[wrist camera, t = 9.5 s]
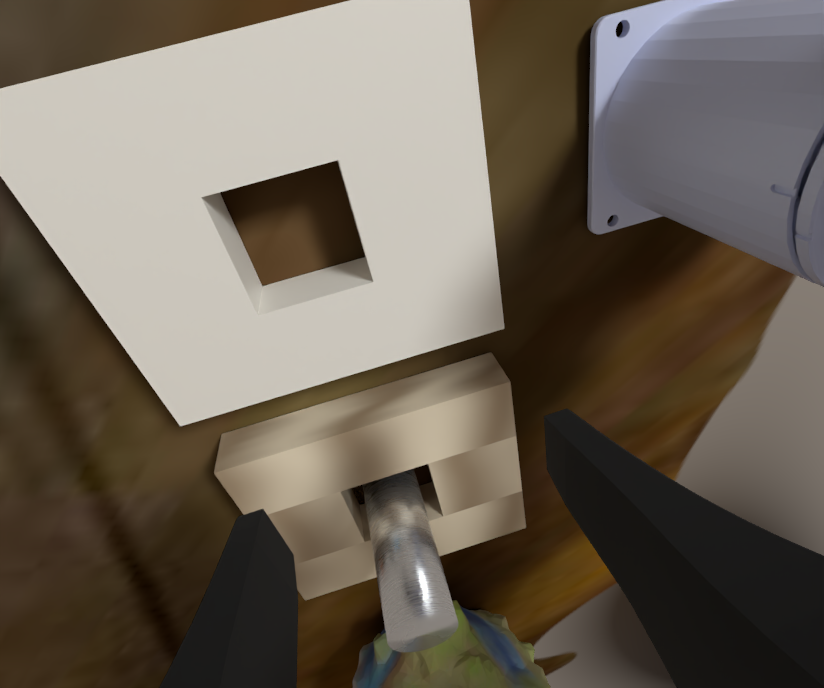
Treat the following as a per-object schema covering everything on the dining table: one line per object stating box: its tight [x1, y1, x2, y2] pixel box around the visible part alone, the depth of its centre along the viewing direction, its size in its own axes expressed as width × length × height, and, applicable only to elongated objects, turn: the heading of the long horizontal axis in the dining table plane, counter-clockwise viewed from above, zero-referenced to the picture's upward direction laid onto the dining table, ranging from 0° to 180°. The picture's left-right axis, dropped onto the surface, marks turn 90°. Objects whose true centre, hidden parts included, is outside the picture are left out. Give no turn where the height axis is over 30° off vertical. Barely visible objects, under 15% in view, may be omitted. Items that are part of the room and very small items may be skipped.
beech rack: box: [214, 352, 526, 601], centre depth 25 cm, size 14×12×2 cm
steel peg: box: [362, 468, 458, 652], centre depth 22 cm, size 3×3×9 cm
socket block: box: [0, 0, 505, 426], centre depth 16 cm, size 14×12×2 cm
